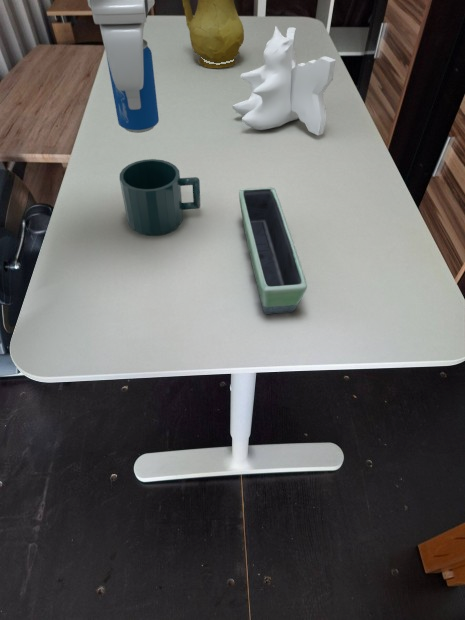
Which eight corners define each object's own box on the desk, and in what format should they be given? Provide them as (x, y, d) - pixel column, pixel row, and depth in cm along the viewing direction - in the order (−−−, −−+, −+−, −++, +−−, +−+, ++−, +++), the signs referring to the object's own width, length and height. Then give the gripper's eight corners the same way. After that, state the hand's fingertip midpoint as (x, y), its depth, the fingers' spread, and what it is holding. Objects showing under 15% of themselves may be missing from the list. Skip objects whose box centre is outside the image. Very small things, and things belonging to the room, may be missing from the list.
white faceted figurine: (222, 107, 125) (222, 19, 109) (292, 98, 130) (302, 13, 114) (253, 150, 109) (258, 55, 93) (331, 138, 114) (348, 46, 98)
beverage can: (110, 128, 72) (95, 46, 63) (135, 113, 76) (123, 33, 67) (143, 138, 70) (132, 54, 61) (166, 122, 74) (159, 41, 65)
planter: (236, 219, 90) (237, 188, 85) (271, 216, 91) (274, 186, 86) (259, 321, 72) (262, 290, 67) (302, 317, 73) (309, 286, 68)
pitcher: (214, 74, 139) (212, -25, 122) (178, 61, 149) (172, -33, 132) (254, 64, 147) (257, -31, 130) (218, 51, 157) (216, -38, 140)
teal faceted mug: (127, 238, 86) (118, 193, 78) (128, 204, 93) (120, 160, 86) (203, 232, 87) (202, 187, 80) (198, 199, 95) (196, 156, 87)
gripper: (99, -29, 65) (116, 71, 76) (90, 12, 52) (112, 128, 62) (142, -30, 66) (153, 70, 76) (145, 11, 53) (157, 125, 63)
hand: (135, 96), depth 69 cm, fingers closed on beverage can, 6 cm apart
